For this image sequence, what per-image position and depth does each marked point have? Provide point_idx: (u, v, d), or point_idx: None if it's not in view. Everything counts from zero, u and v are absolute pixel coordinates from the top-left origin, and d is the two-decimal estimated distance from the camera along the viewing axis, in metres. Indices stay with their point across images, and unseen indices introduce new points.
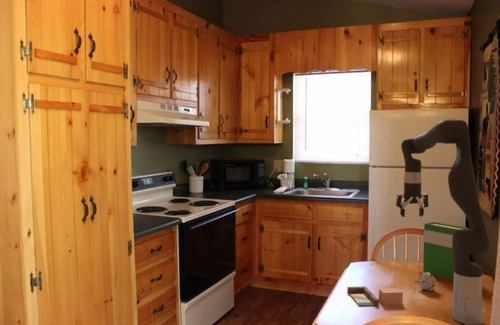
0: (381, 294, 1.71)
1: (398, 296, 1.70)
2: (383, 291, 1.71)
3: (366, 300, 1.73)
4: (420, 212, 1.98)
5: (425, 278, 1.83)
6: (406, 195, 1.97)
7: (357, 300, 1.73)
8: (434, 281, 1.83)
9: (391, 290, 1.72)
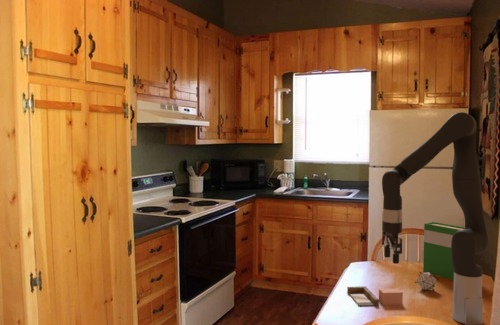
0: (381, 294, 1.71)
1: (398, 296, 1.70)
2: (383, 291, 1.71)
3: (366, 300, 1.73)
4: (388, 252, 1.75)
5: (425, 278, 1.83)
6: None
7: (357, 300, 1.73)
8: (434, 281, 1.83)
9: (391, 290, 1.72)
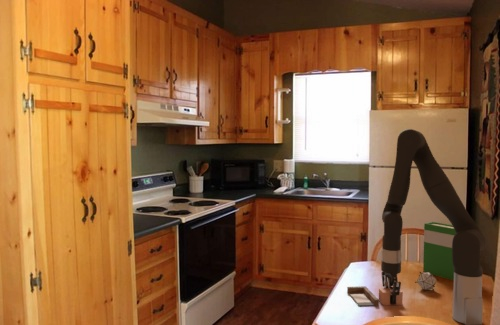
0: (381, 293, 1.71)
1: (398, 296, 1.70)
2: (383, 290, 1.71)
3: (366, 300, 1.73)
4: None
5: (425, 278, 1.83)
6: None
7: (357, 300, 1.73)
8: (434, 281, 1.83)
9: None
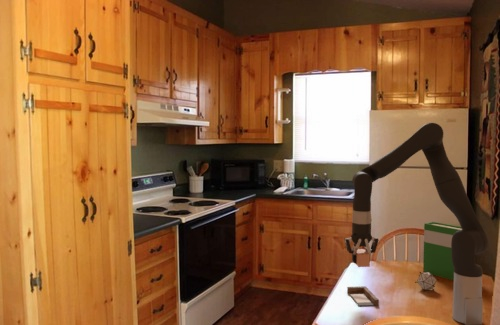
0: (366, 257, 1.70)
1: None
2: (364, 253, 1.71)
3: (366, 300, 1.73)
4: None
5: (425, 278, 1.83)
6: None
7: (357, 300, 1.73)
8: (434, 281, 1.83)
9: (359, 251, 1.74)
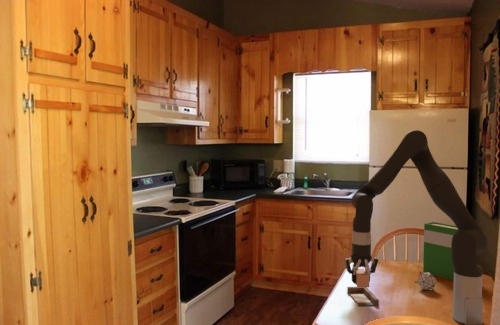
0: (365, 277, 1.71)
1: None
2: (364, 274, 1.72)
3: (366, 300, 1.73)
4: None
5: (425, 278, 1.83)
6: None
7: (357, 300, 1.73)
8: (434, 281, 1.83)
9: (359, 271, 1.75)
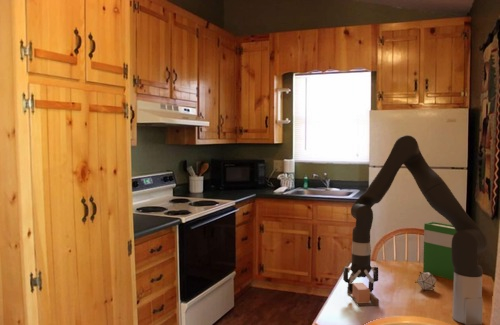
0: (366, 292, 1.71)
1: None
2: (364, 288, 1.72)
3: None
4: None
5: (425, 278, 1.83)
6: None
7: None
8: (434, 281, 1.83)
9: (359, 285, 1.75)
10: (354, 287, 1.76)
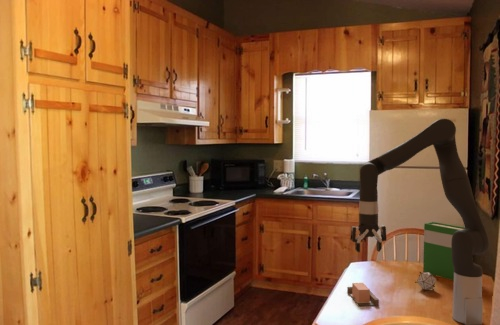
0: (366, 292, 1.71)
1: None
2: (364, 288, 1.72)
3: None
4: None
5: (425, 278, 1.83)
6: None
7: None
8: (434, 281, 1.83)
9: (359, 285, 1.75)
10: (354, 287, 1.76)
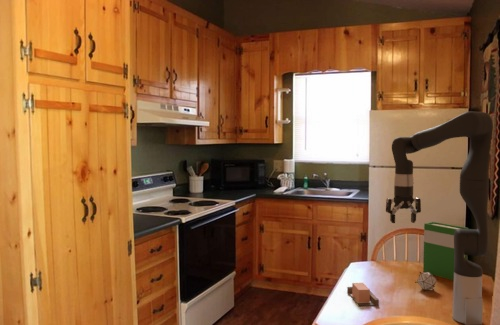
0: (366, 292, 1.71)
1: None
2: (364, 288, 1.72)
3: None
4: None
5: (425, 278, 1.83)
6: None
7: None
8: (434, 281, 1.83)
9: (359, 285, 1.75)
10: (354, 287, 1.76)
